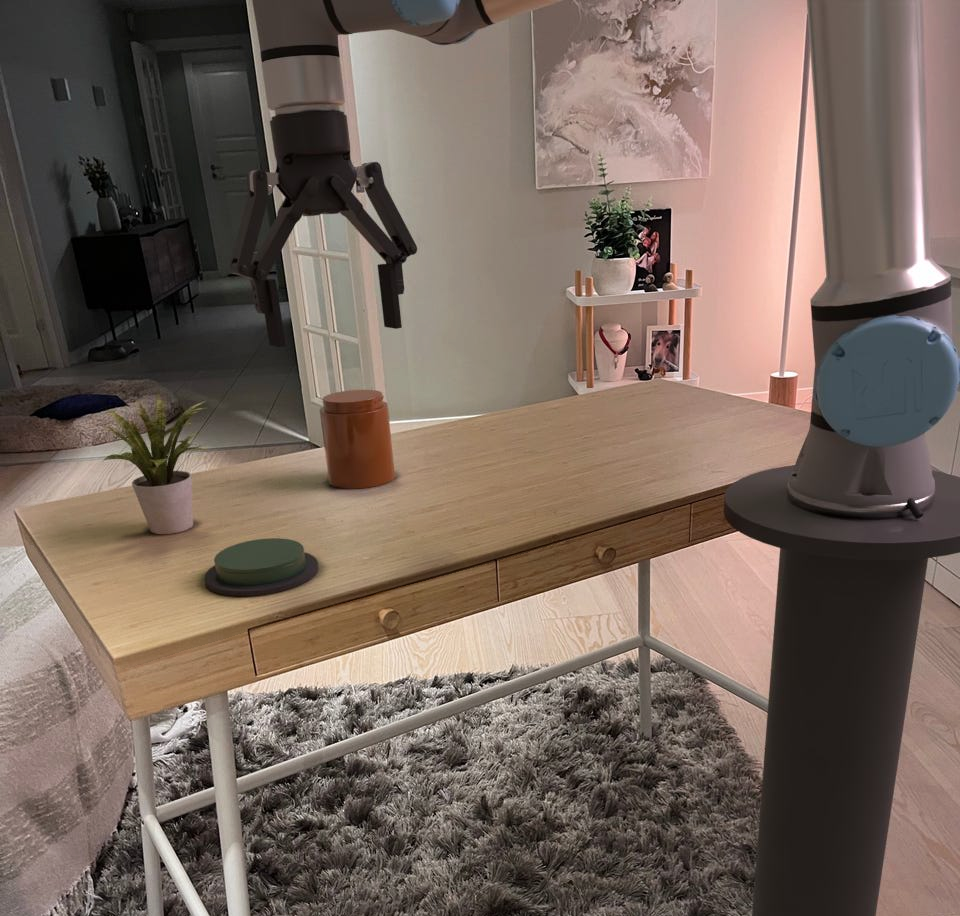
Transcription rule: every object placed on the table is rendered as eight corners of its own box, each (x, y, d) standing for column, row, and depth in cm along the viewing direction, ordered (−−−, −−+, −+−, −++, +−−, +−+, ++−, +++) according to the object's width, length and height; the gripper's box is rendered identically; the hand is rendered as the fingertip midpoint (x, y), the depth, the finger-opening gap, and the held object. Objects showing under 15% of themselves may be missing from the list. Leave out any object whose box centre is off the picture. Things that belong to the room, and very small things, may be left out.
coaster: (336, 576, 102) (335, 571, 102) (225, 606, 97) (224, 600, 97) (294, 546, 112) (293, 541, 111) (191, 571, 106) (190, 566, 106)
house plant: (246, 534, 117) (222, 397, 110) (127, 557, 112) (94, 415, 105) (222, 504, 128) (199, 379, 121) (113, 524, 124) (83, 394, 116)
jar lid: (211, 563, 107) (208, 547, 106) (296, 547, 109) (294, 532, 109) (223, 592, 99) (220, 576, 98) (314, 575, 101) (312, 558, 101)
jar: (406, 479, 134) (398, 395, 129) (345, 493, 130) (334, 406, 125) (377, 466, 141) (368, 385, 136) (318, 478, 137) (307, 396, 132)
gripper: (401, 110, 103) (420, 318, 113) (170, 120, 92) (213, 350, 101) (436, 103, 98) (454, 322, 107) (194, 112, 86) (238, 357, 95)
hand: (337, 336), depth 104 cm, fingers open, 13 cm apart
